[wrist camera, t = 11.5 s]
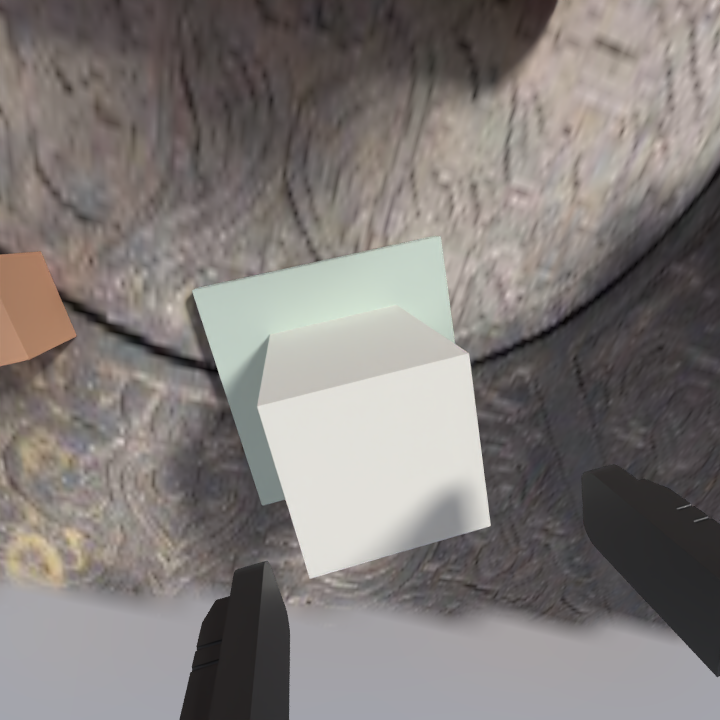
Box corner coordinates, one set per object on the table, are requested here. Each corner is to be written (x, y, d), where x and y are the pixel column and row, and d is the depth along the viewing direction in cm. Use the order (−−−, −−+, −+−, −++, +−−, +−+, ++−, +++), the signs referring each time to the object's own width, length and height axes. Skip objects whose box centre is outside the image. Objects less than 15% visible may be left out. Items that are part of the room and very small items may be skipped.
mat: (434, 235, 22) (440, 236, 21) (462, 441, 25) (469, 449, 24) (196, 288, 20) (192, 290, 19) (263, 495, 24) (262, 505, 23)
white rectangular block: (396, 304, 21) (469, 353, 13) (416, 418, 23) (490, 526, 15) (269, 334, 21) (256, 406, 12) (301, 448, 23) (309, 578, 14)
